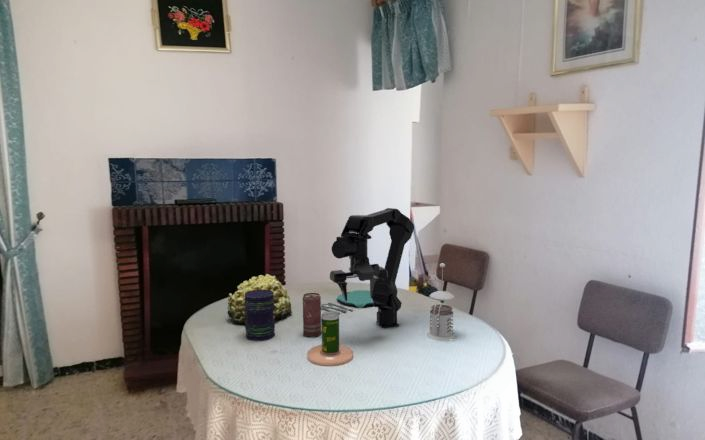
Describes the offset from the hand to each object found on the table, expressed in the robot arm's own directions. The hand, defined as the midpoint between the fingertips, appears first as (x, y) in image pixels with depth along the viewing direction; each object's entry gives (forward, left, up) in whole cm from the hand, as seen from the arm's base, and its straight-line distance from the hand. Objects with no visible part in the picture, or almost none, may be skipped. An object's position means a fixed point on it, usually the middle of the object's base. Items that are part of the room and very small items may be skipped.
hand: (358, 299), depth 166 cm
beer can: (+14, +12, -12) cm, 22 cm away
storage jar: (+31, -13, -13) cm, 36 cm away
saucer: (+14, +12, -13) cm, 23 cm away
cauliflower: (+27, -35, -13) cm, 46 cm away
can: (+14, -8, -13) cm, 21 cm away
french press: (-26, +9, -13) cm, 31 cm away
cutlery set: (-11, -37, -14) cm, 41 cm away
